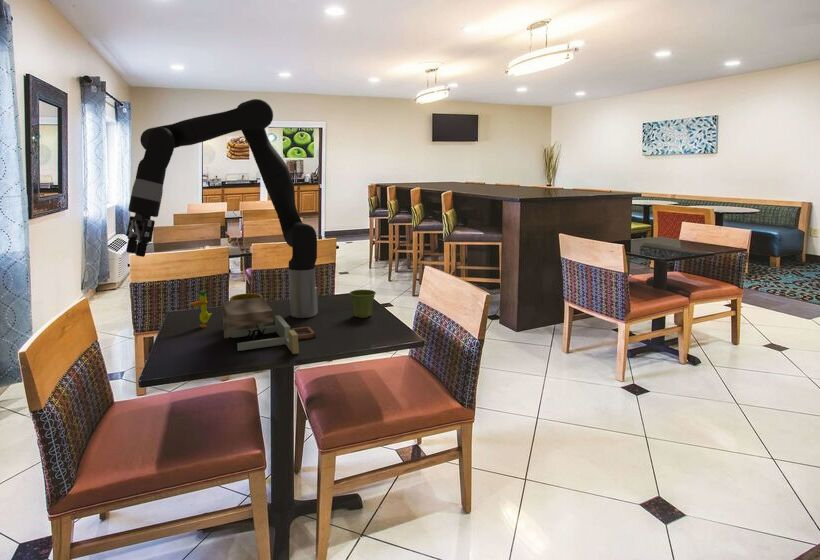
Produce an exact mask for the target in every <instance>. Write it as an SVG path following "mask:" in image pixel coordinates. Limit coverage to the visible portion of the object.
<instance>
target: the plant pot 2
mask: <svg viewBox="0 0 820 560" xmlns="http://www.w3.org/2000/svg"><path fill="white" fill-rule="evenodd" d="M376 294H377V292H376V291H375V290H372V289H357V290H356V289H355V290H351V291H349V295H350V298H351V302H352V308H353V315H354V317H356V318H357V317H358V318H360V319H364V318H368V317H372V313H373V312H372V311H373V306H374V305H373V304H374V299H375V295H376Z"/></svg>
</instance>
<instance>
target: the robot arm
mask: <svg viewBox="0 0 820 560" xmlns="http://www.w3.org/2000/svg"><path fill="white" fill-rule="evenodd" d="M273 119H274V111H273V108H272V107H271V105H270V104H269V103H268V102H267V101H266V100H263V99H257V98H254V99H250V100H246V101H243V102H241V103H239V104H238V105H237V107H236V108H233V109H229V110H226V111H222V112H216V113H211V114H207V115H200V116H196V117H192V118H188V119H184V120H183V119H182V120H181V121H178V122H174V123H172V124H171V123H170V124H165V125H159V126H155V127H150V128H147V129H145V130H144V131H143V132H142V133H141V135H140V139H139V140H140V144H141V146H142V148H143V149H144V150H145V151H144V156H143V158H142V159H141V160H140V161H139V163H138V166H137V169H136V174H135V179H134V182H133V186H132V189H131V193H130V194H131V195H130V199H129V203H128V209H127V210H128V212H130V213H134V216H132V215H130V216H129V221H128V225H127V229H126V233H125V234H126V237H127V239H128V241H127V246H126V250H125V251H126V253H129V254H135V255H136V256H137V257H141V258H143V257H146V251H147V247H148V244H149V243H151V242H152V240H153V233H154V228H155V223H156V222H155V220H153V219H151V217H153V218H158V217H159V214H160V209H161V204H162V198H163V193H164V190H163V189H164V184H165V183H164V182H165V178H166V170H167V167H168V166H169V164H170V162H171V159H172V156H173V154H174V151H175V149H176V148H180V147H187V146H193V145H196V144H201V143H203V142H207V141H210V140H213V139H216V138H218V137H222V136H225V135H228V134H231V133H235V132H240V131H241V132H242V134H243V137H244V138H245V141H246V142H247V144H248V146H249V149H250V150H251V153H252V155H253V158H254V161H255V164H256V166H257V168H258V170H259V173H260V177H261V180H262V182H263V184H264V186H265V189H266V191H267V194H268V196H269V198H270V201H271V203H272V205H273V208H274V210H275V212H276V215H277V218H278V221H279V225H280V229H281V231H282V235H283V238H284V241H285V242H286V244H287V245H288V246H289V247H291V249H292V255H291V258H290V260H289V261H288V280H289V302H290V303H289V304H290V306H289V307H290V316H291V317H292V318H297V319H306V318H313V317H315V316H317V314H318V313H319V307H318V305H319V304H318V303H319V302H318V288H317V286H316V284H317V280H316V263H317V259H318V236H317V232H316V229H315V228H314V227H313V226H312V225H310V224H308V223H303V221H302V218H301V216H300V214H299V212H298V210H297V206H296V196H295V195H296V194H295V193H296V191H295V185H294V180H293V178H292V175H291V173H290V171H289V167H288V166H287V163H286V162H285V161H284V159H283V158H282V156H281V155H280V154H279V153H278V151H277V150H276V149H275V148H274V146H273V145H272V143H271V141H270V140H269V137H268V134H267V132H266V128H268V127H269V126H270V125H271V124H272V122H273Z"/></svg>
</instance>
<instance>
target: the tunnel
mask: <svg viewBox="0 0 820 560" xmlns="http://www.w3.org/2000/svg"><path fill="white" fill-rule="evenodd" d="M221 311H222V323H223V324H222V325H223V327H222V328H223V338H224V339H230V338H229V337H231V338H232V335H231V331H234V330H242V329H250V328H257V326H258V327H265V324H268V323H274V311H273V309H272V308H271V307H270V306H269V304H268V303H267V302H266V301H265V300H264V299H263V297H262V298H252V299H242V300H232V301H230V300H224V301H221ZM256 324H257V326H256Z"/></svg>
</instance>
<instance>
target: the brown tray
mask: <svg viewBox="0 0 820 560" xmlns="http://www.w3.org/2000/svg"><path fill="white" fill-rule="evenodd" d="M290 330H294V331H295V332H296V333H297V334H298V341H301V340H307V339H315V338H316V333H315V331H314V330H313V329H312V328H311V327H310V326H301V327H295V328H290Z"/></svg>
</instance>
